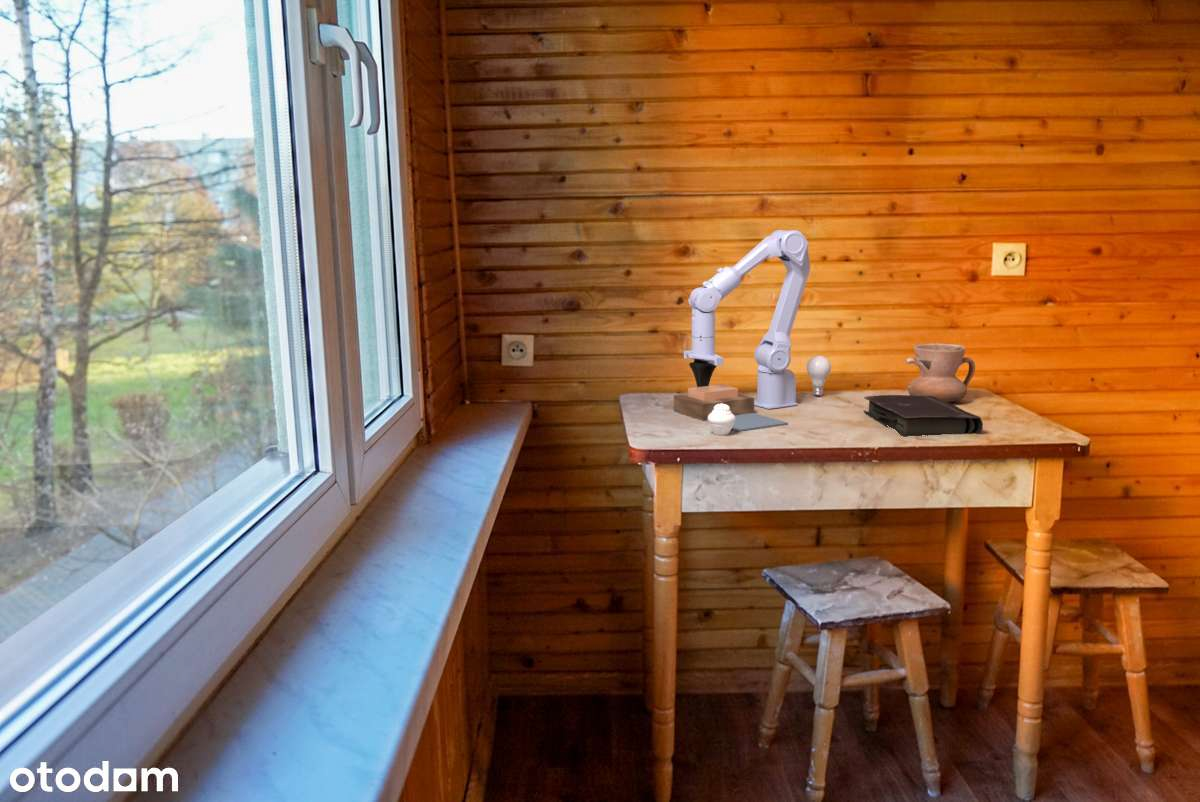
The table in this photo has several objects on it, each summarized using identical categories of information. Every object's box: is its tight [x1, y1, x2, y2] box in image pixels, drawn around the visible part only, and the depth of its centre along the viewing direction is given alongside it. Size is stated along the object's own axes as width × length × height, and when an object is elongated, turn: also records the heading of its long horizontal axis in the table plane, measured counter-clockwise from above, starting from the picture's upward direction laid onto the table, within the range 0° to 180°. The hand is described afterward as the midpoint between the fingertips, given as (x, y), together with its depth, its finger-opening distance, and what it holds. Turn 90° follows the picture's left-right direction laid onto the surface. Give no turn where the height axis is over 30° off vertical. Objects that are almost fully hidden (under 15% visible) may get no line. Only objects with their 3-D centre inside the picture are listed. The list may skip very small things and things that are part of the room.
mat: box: [705, 412, 789, 432], centre depth 219 cm, size 14×13×1 cm
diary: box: [863, 394, 984, 438], centre depth 216 cm, size 19×25×5 cm
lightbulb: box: [806, 354, 832, 397], centre depth 248 cm, size 6×6×11 cm
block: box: [687, 383, 739, 401], centre depth 230 cm, size 10×7×2 cm
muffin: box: [707, 403, 735, 436], centre depth 208 cm, size 6×6×7 cm
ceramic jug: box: [905, 343, 976, 404], centre depth 240 cm, size 18×14×14 cm
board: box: [673, 393, 755, 422], centre depth 231 cm, size 15×13×4 cm
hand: (702, 390), depth 234 cm, fingers closed
